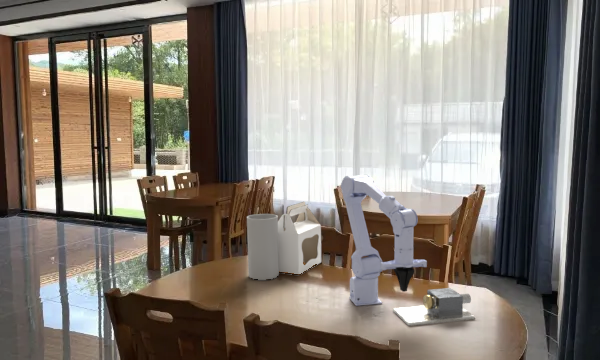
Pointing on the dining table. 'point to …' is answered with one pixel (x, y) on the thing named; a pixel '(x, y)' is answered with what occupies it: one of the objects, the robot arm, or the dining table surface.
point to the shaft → (431, 301)
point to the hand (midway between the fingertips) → (403, 290)
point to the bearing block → (436, 309)
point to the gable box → (298, 240)
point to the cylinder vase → (263, 246)
